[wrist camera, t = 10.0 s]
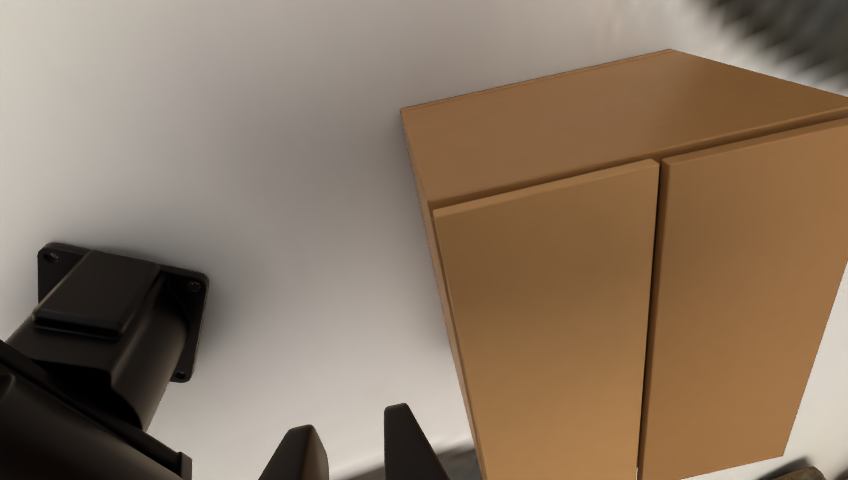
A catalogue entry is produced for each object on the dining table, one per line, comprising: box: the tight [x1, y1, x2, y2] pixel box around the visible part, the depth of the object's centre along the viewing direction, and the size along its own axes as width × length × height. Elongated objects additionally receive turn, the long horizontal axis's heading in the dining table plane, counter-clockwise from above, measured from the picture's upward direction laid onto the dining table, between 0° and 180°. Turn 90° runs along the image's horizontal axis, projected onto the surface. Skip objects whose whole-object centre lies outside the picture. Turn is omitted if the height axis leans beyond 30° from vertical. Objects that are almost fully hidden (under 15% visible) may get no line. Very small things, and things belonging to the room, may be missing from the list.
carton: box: [400, 49, 848, 480], centre depth 18 cm, size 11×13×9 cm
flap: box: [433, 159, 660, 480], centre depth 14 cm, size 5×13×1 cm, turn 11°
